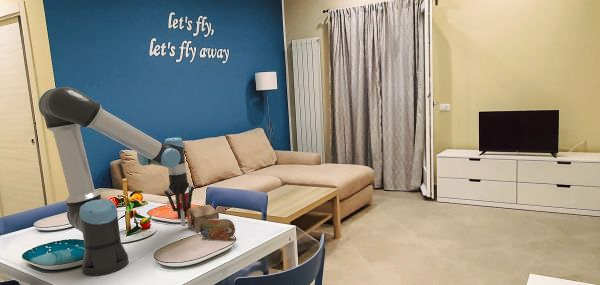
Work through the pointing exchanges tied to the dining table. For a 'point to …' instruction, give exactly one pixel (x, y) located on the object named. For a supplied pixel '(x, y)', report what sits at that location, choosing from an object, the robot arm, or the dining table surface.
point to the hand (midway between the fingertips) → (183, 224)
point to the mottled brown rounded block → (217, 229)
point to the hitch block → (202, 215)
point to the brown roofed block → (190, 219)
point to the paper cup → (185, 199)
